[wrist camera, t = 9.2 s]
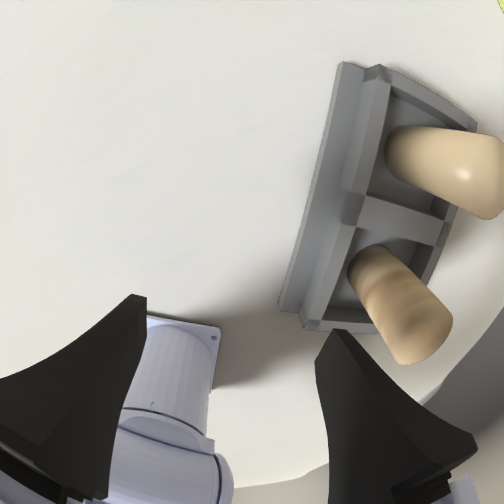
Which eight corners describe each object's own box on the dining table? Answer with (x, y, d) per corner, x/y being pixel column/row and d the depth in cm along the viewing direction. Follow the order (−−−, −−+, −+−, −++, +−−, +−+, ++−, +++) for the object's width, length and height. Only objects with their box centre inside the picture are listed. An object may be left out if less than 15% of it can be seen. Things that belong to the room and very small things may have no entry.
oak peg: (381, 293, 20) (430, 362, 13) (339, 288, 20) (381, 367, 13) (400, 249, 19) (463, 309, 11) (357, 240, 18) (416, 307, 11)
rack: (398, 314, 23) (444, 383, 15) (278, 303, 21) (297, 397, 13) (463, 127, 15) (547, 145, 7) (337, 64, 14) (414, 24, 6)
